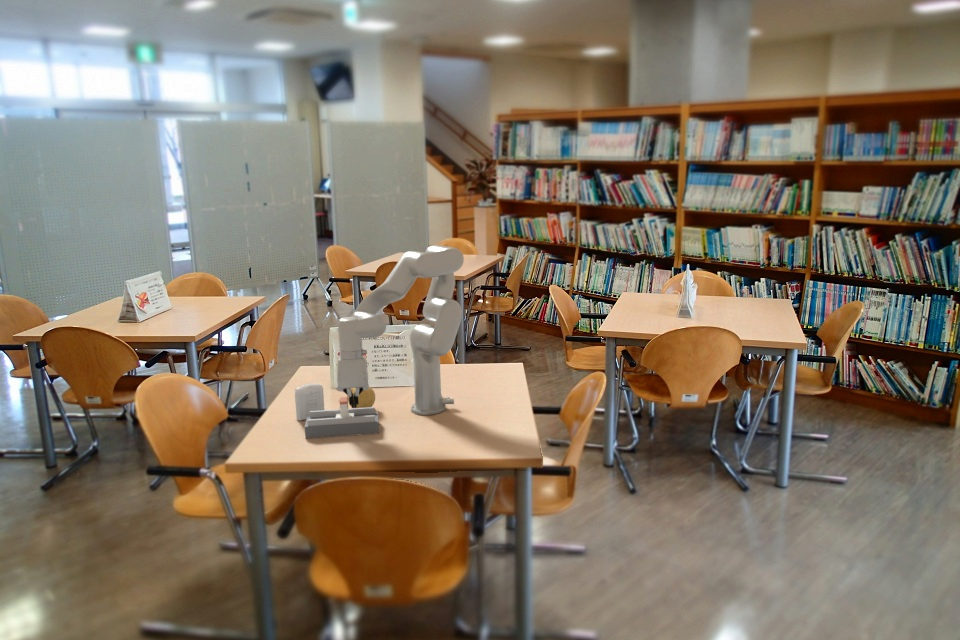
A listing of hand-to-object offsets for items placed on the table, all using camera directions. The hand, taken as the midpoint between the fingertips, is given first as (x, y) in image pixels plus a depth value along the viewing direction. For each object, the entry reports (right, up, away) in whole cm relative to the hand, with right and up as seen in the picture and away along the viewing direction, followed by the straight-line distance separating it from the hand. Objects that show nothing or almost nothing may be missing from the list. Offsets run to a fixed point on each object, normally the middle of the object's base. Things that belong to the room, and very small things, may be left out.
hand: (354, 406), depth 244 cm
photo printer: (-18, -6, +14) cm, 24 cm away
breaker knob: (-3, -4, +1) cm, 5 cm away
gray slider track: (-4, -8, +1) cm, 9 cm away
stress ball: (-1, -4, +20) cm, 20 cm away
